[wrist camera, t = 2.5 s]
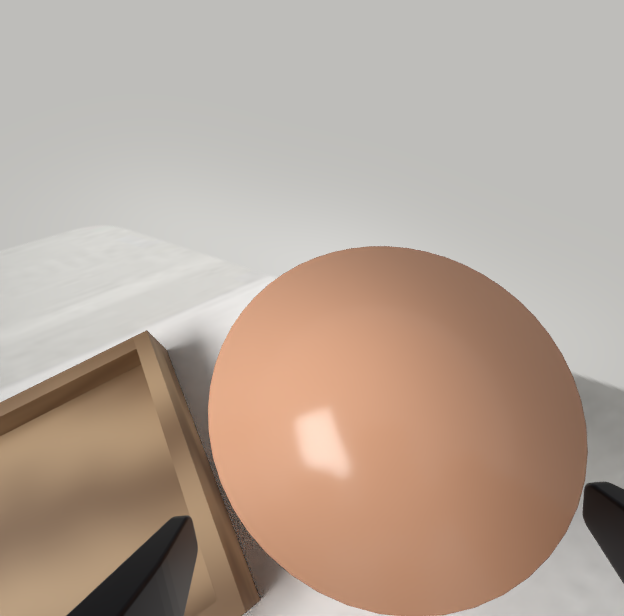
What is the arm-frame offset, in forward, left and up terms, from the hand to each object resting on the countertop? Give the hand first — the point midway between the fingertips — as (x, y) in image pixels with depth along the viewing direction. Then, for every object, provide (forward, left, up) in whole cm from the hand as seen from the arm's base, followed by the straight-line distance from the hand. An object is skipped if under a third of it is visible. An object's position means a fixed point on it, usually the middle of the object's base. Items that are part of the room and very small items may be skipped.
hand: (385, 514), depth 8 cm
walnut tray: (+7, +12, -9) cm, 17 cm away
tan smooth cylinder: (+2, -1, -9) cm, 9 cm away
